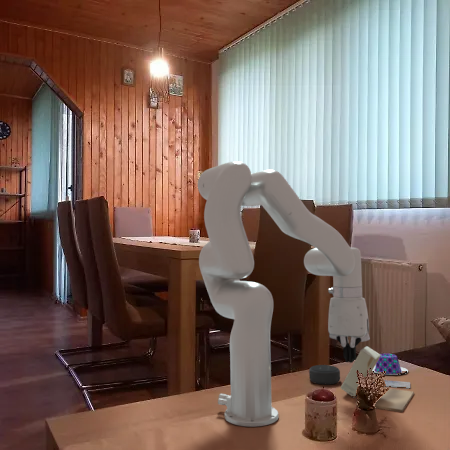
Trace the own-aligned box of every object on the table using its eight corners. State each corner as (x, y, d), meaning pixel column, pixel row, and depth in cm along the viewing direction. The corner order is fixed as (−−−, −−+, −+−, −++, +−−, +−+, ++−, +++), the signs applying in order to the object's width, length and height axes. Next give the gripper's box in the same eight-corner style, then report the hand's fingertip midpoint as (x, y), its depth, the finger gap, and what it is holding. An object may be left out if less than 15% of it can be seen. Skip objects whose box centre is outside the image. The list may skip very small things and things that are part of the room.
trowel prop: (350, 383, 137) (350, 377, 137) (352, 379, 141) (352, 373, 141) (410, 388, 131) (410, 382, 131) (410, 383, 136) (410, 377, 136)
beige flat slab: (356, 405, 118) (356, 402, 118) (371, 388, 132) (371, 386, 132) (402, 412, 113) (402, 409, 113) (413, 393, 126) (413, 391, 126)
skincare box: (353, 398, 123) (375, 359, 121) (339, 388, 125) (360, 349, 123) (360, 392, 129) (381, 354, 126) (346, 382, 131) (367, 345, 128)
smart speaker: (303, 380, 141) (302, 367, 141) (324, 376, 146) (324, 362, 146) (324, 387, 134) (324, 373, 134) (346, 382, 139) (346, 368, 139)
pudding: (389, 379, 142) (389, 361, 142) (360, 370, 152) (359, 354, 152) (416, 373, 148) (415, 356, 148) (386, 365, 158) (385, 349, 158)
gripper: (316, 293, 129) (318, 361, 128) (372, 295, 121) (375, 367, 120) (325, 291, 135) (327, 355, 134) (379, 292, 128) (381, 361, 127)
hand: (349, 361), depth 127 cm, fingers closed
